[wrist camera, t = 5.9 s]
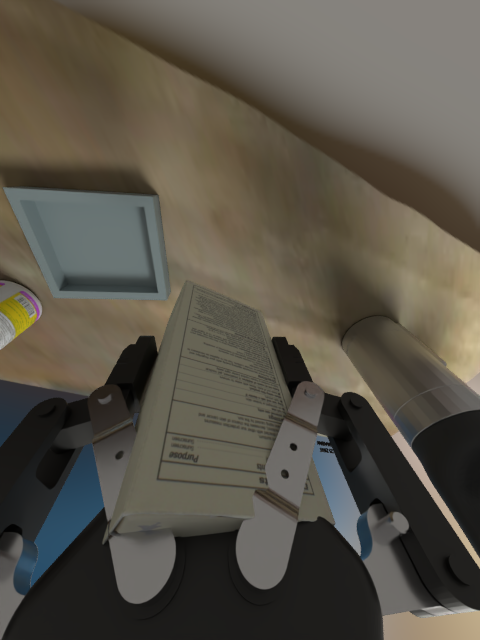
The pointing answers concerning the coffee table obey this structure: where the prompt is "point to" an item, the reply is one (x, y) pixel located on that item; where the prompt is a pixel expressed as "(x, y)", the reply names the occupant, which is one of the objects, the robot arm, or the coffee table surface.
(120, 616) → the robot arm
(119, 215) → the tray
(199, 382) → the skincare box
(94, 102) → the coffee table surface
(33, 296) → the supplement bottle
